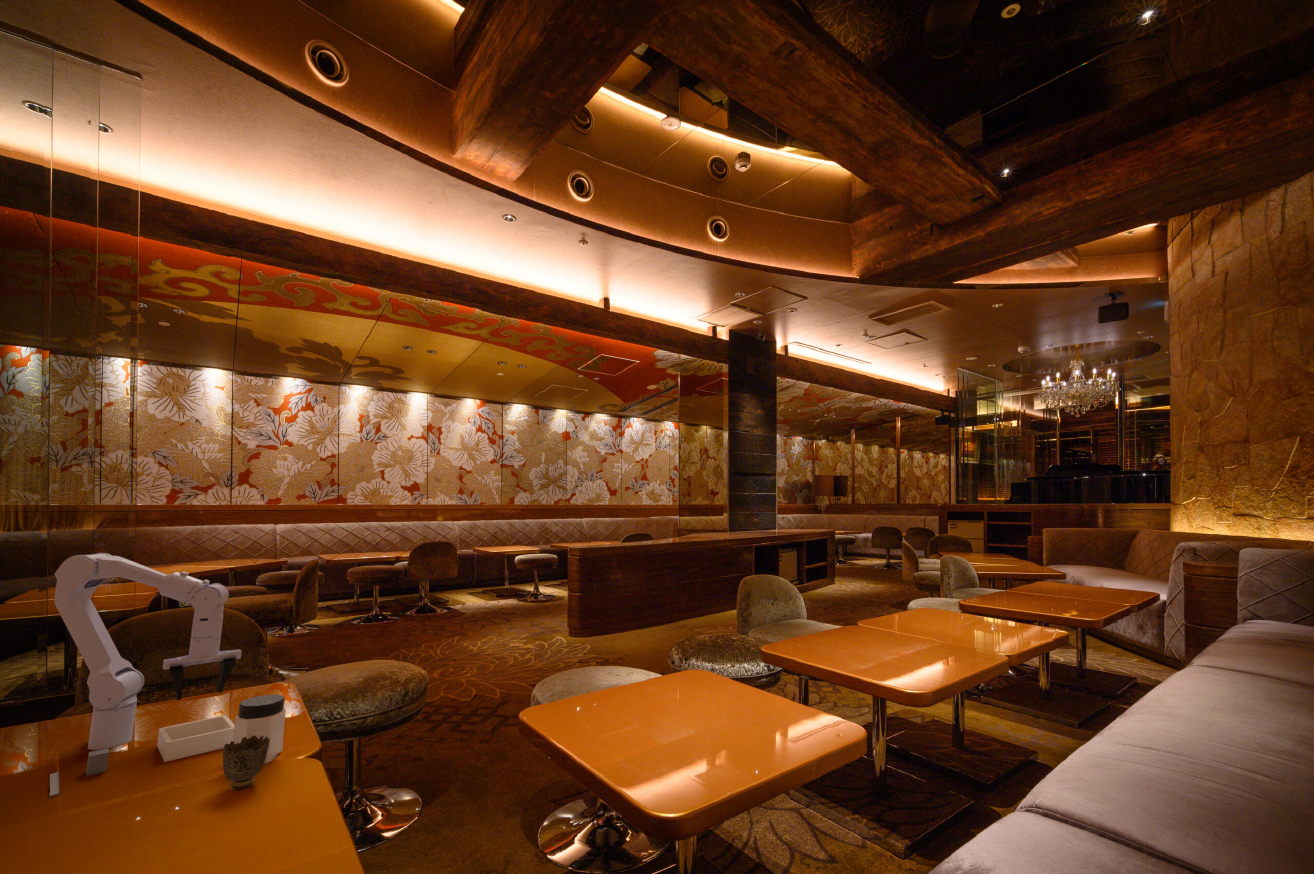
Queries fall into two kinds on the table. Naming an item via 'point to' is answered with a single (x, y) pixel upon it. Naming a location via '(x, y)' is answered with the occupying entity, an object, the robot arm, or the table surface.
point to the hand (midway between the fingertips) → (199, 695)
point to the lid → (94, 766)
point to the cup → (244, 760)
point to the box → (195, 737)
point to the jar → (262, 722)
